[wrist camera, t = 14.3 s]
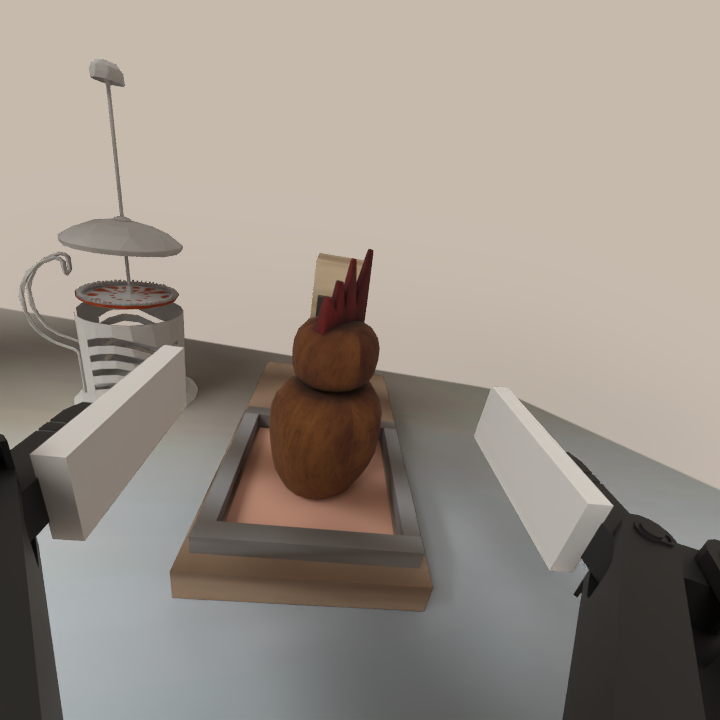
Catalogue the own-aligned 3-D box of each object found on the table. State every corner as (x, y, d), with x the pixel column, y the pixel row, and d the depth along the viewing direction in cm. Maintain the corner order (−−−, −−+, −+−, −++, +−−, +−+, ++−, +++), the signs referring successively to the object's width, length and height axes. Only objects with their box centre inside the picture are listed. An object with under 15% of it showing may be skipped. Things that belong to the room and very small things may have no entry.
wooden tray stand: (423, 611, 19) (520, 361, 13) (172, 597, 17) (147, 309, 11) (380, 391, 41) (408, 260, 35) (267, 377, 39) (275, 238, 33)
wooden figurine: (337, 440, 28) (371, 244, 22) (382, 491, 23) (438, 265, 17) (253, 465, 24) (264, 233, 18) (288, 530, 20) (319, 257, 14)
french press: (201, 416, 31) (194, 68, 21) (29, 435, 26) (-93, -20, 16) (195, 366, 39) (186, 95, 29) (61, 373, 33) (-7, 43, 23)
